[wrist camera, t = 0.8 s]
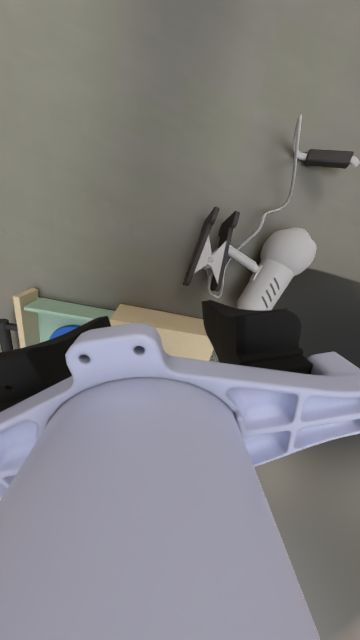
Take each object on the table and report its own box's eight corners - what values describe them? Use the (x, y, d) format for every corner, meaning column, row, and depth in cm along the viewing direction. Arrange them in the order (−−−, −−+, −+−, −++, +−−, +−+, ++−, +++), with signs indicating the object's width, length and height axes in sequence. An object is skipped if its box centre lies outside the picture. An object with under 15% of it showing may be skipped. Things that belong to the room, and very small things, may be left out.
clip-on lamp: (255, 127, 19) (172, 279, 21) (301, 52, 13) (177, 277, 15) (333, 194, 21) (251, 325, 23) (405, 157, 15) (284, 340, 17)
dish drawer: (184, 393, 31) (187, 420, 26) (111, 384, 29) (101, 412, 24) (208, 320, 25) (218, 338, 21) (119, 303, 23) (109, 320, 19)
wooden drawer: (123, 387, 29) (119, 404, 26) (22, 376, 26) (5, 393, 24) (135, 307, 23) (131, 317, 20) (8, 283, 21) (-16, 291, 18)
